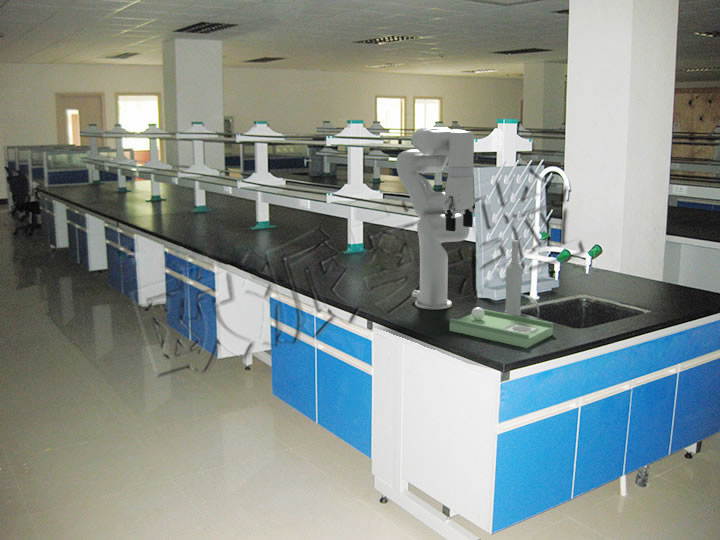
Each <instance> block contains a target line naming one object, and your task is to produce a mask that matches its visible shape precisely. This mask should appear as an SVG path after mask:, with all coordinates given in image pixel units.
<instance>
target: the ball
mask: <svg viewBox="0 0 720 540" xmlns="http://www.w3.org/2000/svg"><path fill="white" fill-rule="evenodd" d="M483 309H484V308H482V307H480V306H479V307H474V308H473V309H472V310H471V314H472V317H473V318H474V319H475V320H481V319H483V317H484V315H485V312H484V310H483ZM471 314H470V315H471Z"/></svg>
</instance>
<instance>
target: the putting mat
mask: <svg viewBox="0 0 720 540" xmlns="http://www.w3.org/2000/svg"><path fill="white" fill-rule="evenodd" d="M482 309H483V310H484V312H485V315H484V317H483V319H481V320H475V319H474V318H473V317H472V314H469V315H466V316H463V317H461V318H459V319H457V318H449V331H450V332H455V333H459V334H462V333H463V334H464V335H468V336H473V337H477V338H481V339H485V340H489V341H493V342H498V343H502V344H503V343H504V344H508V345H512V346H517V347H519V348H520V347H521V348H525V349H527V348H529V347H531V346H533V345H536V344H537V343H539V342H541V341H543V340H545V339H547V338H549V337H551V336H553V334H554V333H553V332H554V322H552V321H551V322H550V321H547V320H542V319H540V320H539V319H536V318H530V317H525V316H521V315H520V316H516V315H511V314H506V313H505V312H499V311H495V310H489V309H485V308H482Z"/></svg>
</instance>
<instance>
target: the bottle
mask: <svg viewBox="0 0 720 540" xmlns="http://www.w3.org/2000/svg"><path fill="white" fill-rule="evenodd" d="M519 242H520V241H519V240H517V239H515V240H511V261H510V262H509V264H507V265H506V267H505V270H506V272H505V310H504V313H506V314H511V315H516V316H521V315H522V313H521V301H522V285H523V283H522V282H523V268H524V267H523V266H522V265H521V264H520V263H519V244H520V243H519Z"/></svg>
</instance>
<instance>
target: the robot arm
mask: <svg viewBox="0 0 720 540" xmlns="http://www.w3.org/2000/svg"><path fill="white" fill-rule="evenodd" d="M411 143H412V144H411V145H412V146H413V148H415V149H407V150H404V151H402V152H400V153H399V154H398V155H397V158H396V163H395V165H396V172H397V174H398V175H397V176H398V178H399V180H400V182H401V184H402V185H403V187H404V189H406V191H407V193H408V196H409V198H410V202H411V204H412V206H413V207H412V208H413V210H414V212H415V214H416V217H418V222H417V226H416V227H417V236H418V243H419V290H417V289H414V290H413V291H412V292H411V296H412V297H414V298H416V300H415V302H414V304H415V306H416V308H420V309H423V310H433V311H435V310H445V309H449V308H451V307H452V304H453V303H452V301H451V300H449V299H448V282H449V281H448V276H449V275H448V273H449V269H448V268H449V266H448V265H449V264H448V263H449V257H448V253H447V251H446V249H445V248H444V247H443V246H442V243H451V242H453V243H454V242H463V241H465V240H467V238H468V237H469V234H470V228H473V225H474V223H473V222H474V214H475V209H476V203H477V198H476V197H474V196H475V194H474V193H475V192H474V191H475V190H474V188H475V187H474V157H475V156H474V154H475V153H474V152H475V151H474V150H475V134H474V133H473V132H472V131H470V130H468V131H467V130H464V129H450V128H449V127H446V126H445V127H443V126H441V127H433V126H432V127H421V128H418V129H417V130H416V131H414V132H413V134H412V137H411ZM447 165H448V166H447ZM446 166H447V167H448V168H447V171H448V172H447V178H446V183H445V190H444V191H435V190H434V189H433V186H432V184H431V183H430V181H429V180H428V179H427V178H426V177H424V176H423V175H421V174H433V173H441V172H442V171H444V169H445V168H446Z"/></svg>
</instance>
